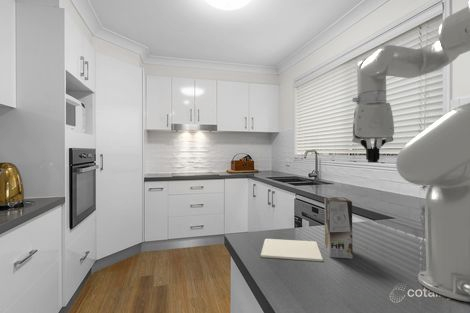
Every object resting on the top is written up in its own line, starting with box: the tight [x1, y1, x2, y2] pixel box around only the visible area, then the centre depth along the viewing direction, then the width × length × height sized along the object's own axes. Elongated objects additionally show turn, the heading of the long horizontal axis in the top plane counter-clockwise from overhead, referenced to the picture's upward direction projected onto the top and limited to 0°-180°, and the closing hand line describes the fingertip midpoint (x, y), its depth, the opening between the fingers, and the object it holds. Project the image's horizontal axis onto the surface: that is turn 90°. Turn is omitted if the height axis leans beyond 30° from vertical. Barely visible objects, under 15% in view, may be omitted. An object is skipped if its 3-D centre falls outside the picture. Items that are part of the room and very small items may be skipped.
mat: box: [260, 238, 324, 262], centre depth 78 cm, size 16×17×1 cm
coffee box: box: [324, 196, 354, 260], centre depth 76 cm, size 9×6×16 cm
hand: (372, 162), depth 74 cm, fingers closed
